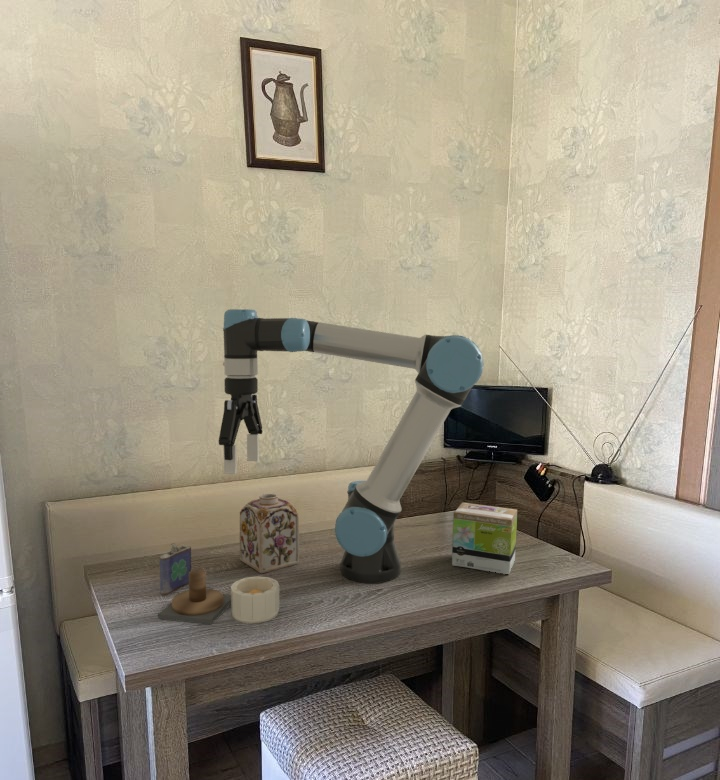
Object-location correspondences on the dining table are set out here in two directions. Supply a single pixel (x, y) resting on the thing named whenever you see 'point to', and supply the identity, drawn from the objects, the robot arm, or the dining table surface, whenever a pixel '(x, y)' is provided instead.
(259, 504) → the decorative jar
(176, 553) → the flask
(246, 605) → the bowl
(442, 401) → the robot arm
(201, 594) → the lid
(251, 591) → the apricot
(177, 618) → the mat
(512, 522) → the tea box
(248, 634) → the dining table surface
